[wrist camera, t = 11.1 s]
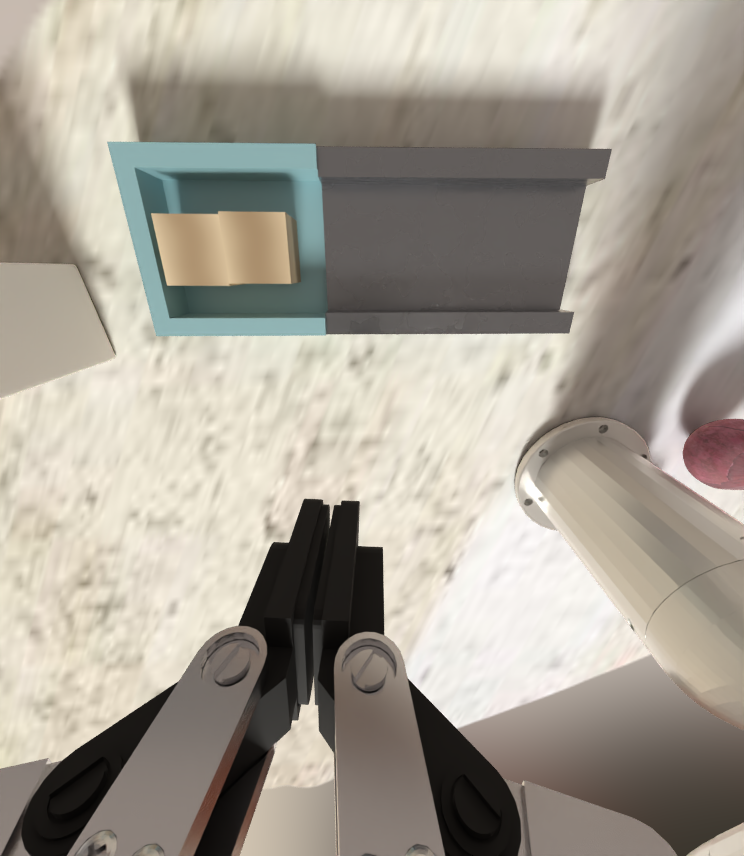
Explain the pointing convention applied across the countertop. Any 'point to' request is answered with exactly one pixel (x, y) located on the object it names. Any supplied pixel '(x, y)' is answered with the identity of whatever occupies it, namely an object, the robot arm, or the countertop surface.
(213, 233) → the chip
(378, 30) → the countertop surface
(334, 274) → the rail
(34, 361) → the milk carton
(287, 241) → the chip
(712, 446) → the vegetable
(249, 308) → the tray
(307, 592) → the robot arm
